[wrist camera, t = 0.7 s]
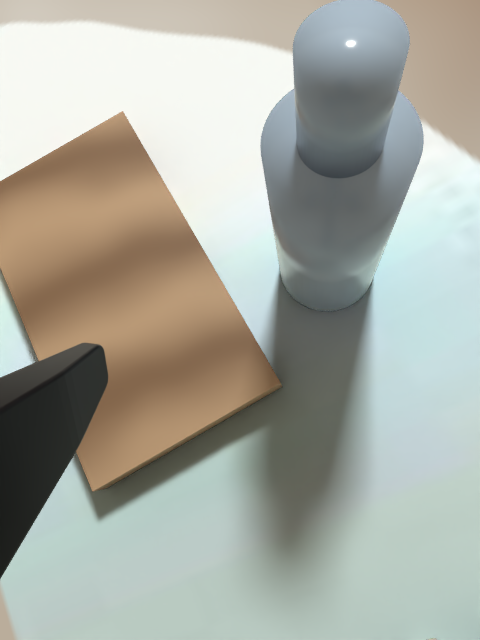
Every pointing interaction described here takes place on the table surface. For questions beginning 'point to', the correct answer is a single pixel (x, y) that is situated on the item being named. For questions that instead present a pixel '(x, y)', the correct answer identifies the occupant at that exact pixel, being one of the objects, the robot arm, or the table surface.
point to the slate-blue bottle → (340, 152)
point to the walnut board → (126, 298)
